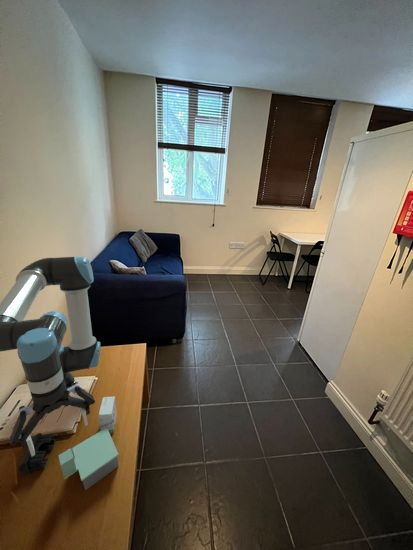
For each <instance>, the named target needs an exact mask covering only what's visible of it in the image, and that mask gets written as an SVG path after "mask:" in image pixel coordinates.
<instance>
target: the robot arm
mask: <svg viewBox="0 0 413 550" xmlns="http://www.w3.org/2000/svg"><path fill="white" fill-rule="evenodd" d="M92 267H93V266H92V264H91V262H90V260H89V259H88V258H87V257H85V256H64V257H63V256H62V257H46V258H45V257H44V258H41V259H38V260H35V261H34V262H31V263H29V264H28V265H26V266H25V267H23V268H22V269H21V270H20V271H19V273H18V274H17V275H16V277H15V283H14V284H13V286H11V288H10V290H9V291H8V293H6V295H5V297H4V298H2V300H1V302H0V353H1V352H6V351H12V350H13V351H14V350H17V356H18V358H19V360H20V362H21V366H22V369H23V372H24V375H25V380H26V383H27V386H28V389H29V393H30V397H31V400H32V403H31V405H27V406H25V405H20V407H19V408H18V413H19V414H18V417H17V419H16V422H15V424H14V427H13V429H12V432H11V434H10V436H9V440H10V442H9V443H10V446H11V447H13V446H16V445H17V443H20V444H21V448H22V449H23V450H26V449H28V447H29V450H30V453H31V456H34V455H35V451H34V445H33V442H32V439H33V438H32V436H31V434H32V432H33V431H34V429H35V428H36V426H37V425H38V423H39V422H40V421H42V420H43V418H44V417H45V415H46V414H47V415H48V414H50V413H52V412H54V411H55V410H59V409H60V408H62V406H63V407H74V408H79V409H80V410H81V417H82V420H83V422H84V426H85V427H87V426H88V425H89V422H88V415H90V414H91V411H90V409H91V408H90V406H91V405H94V404H95V403H96V400H95V398H94V396H93V395H92V394H91V393H89V392H88V391H87V390H85V389H84V388H82V387H80V384H79V382H77V381H75V377H74V375H73V374H72V373H71V372H75V371H76V372H77V371H82V370H86V369H87V370H90V369H91V368H96V367H98V366H99V364H100V355H101V342H100V341H97V338H96V337H95V336H93V329H92V322H91V320H92V319H91V314H90V312H91V311H90V303H89V296H88V295H89V294H88V290H89V289H90V288H91V284H92V283H94V279H95V278H94V273H93V271H94V270H93V268H92ZM48 286H59V289H60V291H61V292H63V293H64V294H65V302H66V304H65V305H66V309H67V310H66V311H67V316H66V314H64V313H63V312H60V311H55V310H52V311H48V312H46V313H44V314H42V315H41V316H40V317H39V318H36V319H35V318H34V319H26V320H25V317H26V316H27V315H28V313H29V310H30V309H31V306H32V305H33V303H34V302H35V299H36V298H37V297H38V295H39V293H40V291H42V290H44V289H45V288H46V287H48ZM67 317H68V318H67ZM68 324H69V330H70V331H69V332H70V338H71V339H70V340H71V341H70V342H69V343H68V346H64V345H63V341H64V337H65V335H66V333H67V329H68V328H67V327H68ZM74 381H75V383H74ZM70 393H72V394H74V395H77V396H78V397H75V396H70ZM79 397H80V398H79ZM32 411H34V413H33V414H32V415H31V417H30V419H29V420H28V421H27V417H29V415H30V414H31V412H32ZM26 421H27V423H26ZM25 423H26V424H25Z"/></svg>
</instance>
